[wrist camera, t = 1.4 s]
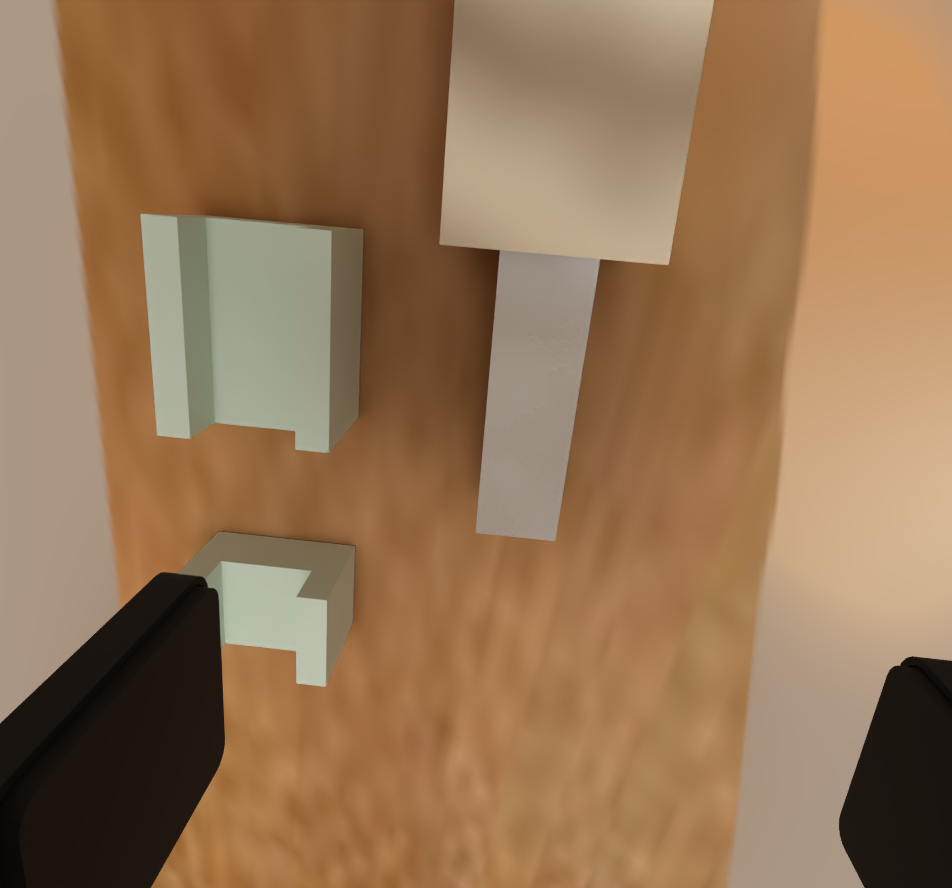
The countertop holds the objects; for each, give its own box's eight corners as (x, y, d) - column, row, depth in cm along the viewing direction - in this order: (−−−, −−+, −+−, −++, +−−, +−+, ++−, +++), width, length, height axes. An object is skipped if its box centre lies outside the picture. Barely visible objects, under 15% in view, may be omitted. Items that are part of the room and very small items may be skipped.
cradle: (204, 215, 25) (140, 213, 21) (363, 229, 25) (331, 230, 21) (222, 608, 31) (175, 669, 27) (353, 622, 31) (325, 686, 27)
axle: (521, 40, 20) (518, 33, 17) (621, 48, 20) (634, 43, 17) (481, 489, 28) (475, 532, 25) (553, 497, 27) (555, 541, 25)
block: (485, -78, 22) (468, -222, 15) (674, -65, 22) (748, -203, 15) (462, 238, 25) (439, 244, 18) (626, 252, 25) (668, 265, 18)
